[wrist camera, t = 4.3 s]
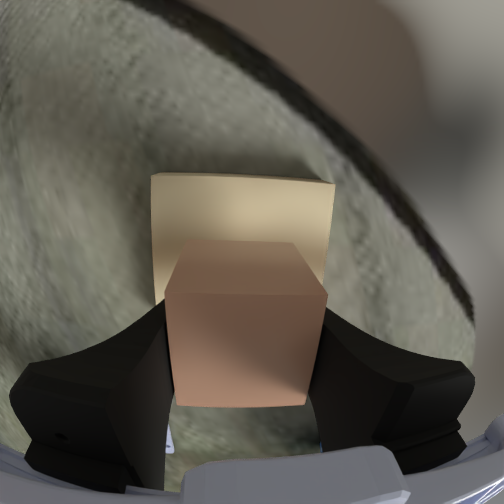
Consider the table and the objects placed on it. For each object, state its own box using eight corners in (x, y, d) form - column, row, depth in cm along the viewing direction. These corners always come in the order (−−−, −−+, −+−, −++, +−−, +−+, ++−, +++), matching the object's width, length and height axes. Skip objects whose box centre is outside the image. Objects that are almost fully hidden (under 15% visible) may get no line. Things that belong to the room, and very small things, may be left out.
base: (304, 319, 21) (312, 338, 19) (165, 316, 21) (159, 336, 18) (321, 180, 18) (335, 184, 16) (161, 172, 17) (151, 175, 15)
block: (282, 330, 14) (304, 404, 10) (190, 329, 14) (176, 405, 9) (292, 242, 13) (328, 294, 8) (187, 239, 13) (163, 291, 8)
